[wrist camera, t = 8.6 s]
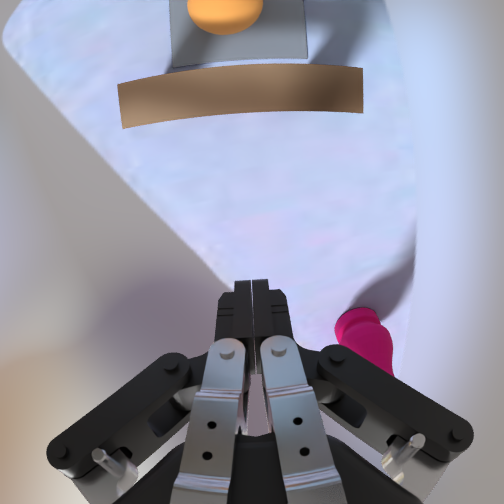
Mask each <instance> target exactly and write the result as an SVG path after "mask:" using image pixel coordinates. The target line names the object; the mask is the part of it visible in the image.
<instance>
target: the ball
mask: <svg viewBox="0 0 504 504" xmlns="http://www.w3.org/2000/svg"><path fill="white" fill-rule="evenodd" d="M262 7H263V0H188V2H187V8H188V12H189V15H190V17H191V19H192V20H193V22H194V23H195V24H196V25H197V26H198V27H200V28H201V29H203V30H205V31H207V32H209V33H213V34H218V35H229V34H235V33H238V32H241V31H243V30H245V29H247V28H248V27H250V26H251V25H252V24H253V23H254V22H255V21H256V20H257V19H258V17H259V15H260V13H261V11H262Z"/></svg>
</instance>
